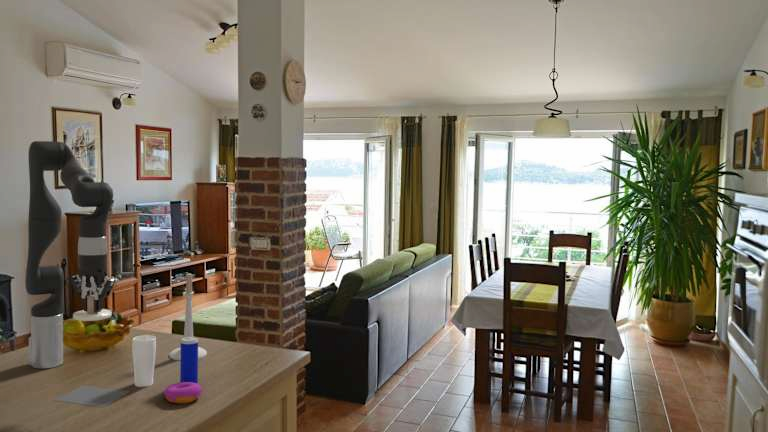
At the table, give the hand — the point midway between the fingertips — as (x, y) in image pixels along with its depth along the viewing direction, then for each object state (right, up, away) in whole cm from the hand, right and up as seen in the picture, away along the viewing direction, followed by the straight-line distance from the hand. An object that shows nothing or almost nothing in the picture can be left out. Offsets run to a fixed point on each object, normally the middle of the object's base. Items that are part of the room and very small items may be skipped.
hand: (92, 311), depth 172 cm
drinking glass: (+10, -25, +13) cm, 30 cm away
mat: (-1, -26, +2) cm, 26 cm away
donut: (+25, -27, +4) cm, 37 cm away
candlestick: (+13, -23, +44) cm, 51 cm away
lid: (0, -2, 0) cm, 2 cm away
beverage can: (+23, -26, +14) cm, 37 cm away
